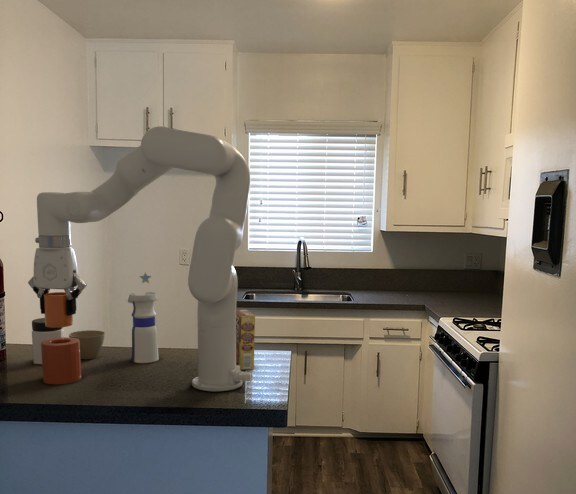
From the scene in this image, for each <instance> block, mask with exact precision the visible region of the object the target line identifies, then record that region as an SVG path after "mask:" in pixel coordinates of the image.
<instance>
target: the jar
mask: <svg viewBox="0 0 576 494" xmlns="http://www.w3.org/2000/svg"><path fill="white" fill-rule="evenodd" d="M31 330H32V331H31V342H32V360H33V364H34V365H41V366H42V352H41V342H42V341H44V340H47V339H53V338H65V333H64V327H60V328H51V327H46V326H45V317H40V318H35V319H33V320H31Z"/></svg>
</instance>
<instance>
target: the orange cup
mask: <svg viewBox="0 0 576 494" xmlns="http://www.w3.org/2000/svg"><path fill="white" fill-rule="evenodd" d="M66 300H68V297H67V295H66V293H65V291H52V292H49V293H46V294H44V314H43V315H44V318H45V326H46V327H51V328H60V327H63V328H67V327H71V326H73V324H74V323H73V322H74V318H73V315H70V316H68V315H67V314H66Z"/></svg>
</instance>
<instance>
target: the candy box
mask: <svg viewBox="0 0 576 494" xmlns="http://www.w3.org/2000/svg"><path fill="white" fill-rule="evenodd" d="M255 329H256V315H255V314H254V313H252V312H251V311H250V310H248V309H236V365H238V366H240V370H241V371H246V370H248V371H249V370H251V371H252V370H254V369H255V337H256V330H255Z"/></svg>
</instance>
